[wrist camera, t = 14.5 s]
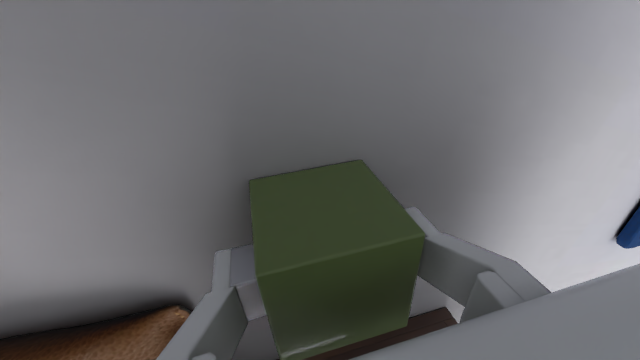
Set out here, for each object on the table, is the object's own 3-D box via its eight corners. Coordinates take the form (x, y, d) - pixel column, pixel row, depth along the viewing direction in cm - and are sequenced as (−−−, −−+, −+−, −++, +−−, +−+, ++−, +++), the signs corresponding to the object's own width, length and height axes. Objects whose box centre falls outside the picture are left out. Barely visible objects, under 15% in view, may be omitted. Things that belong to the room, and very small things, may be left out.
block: (268, 261, 12) (281, 367, 8) (248, 179, 10) (254, 276, 6) (359, 239, 13) (408, 327, 9) (361, 158, 10) (427, 233, 7)
